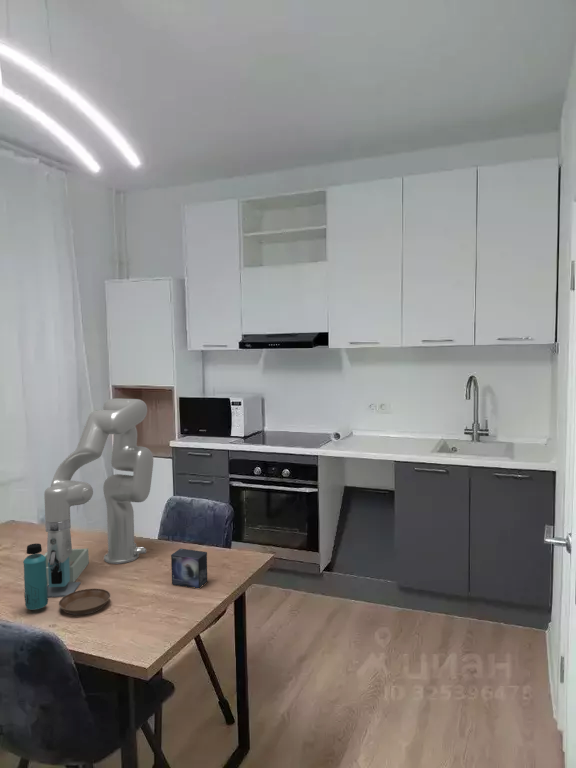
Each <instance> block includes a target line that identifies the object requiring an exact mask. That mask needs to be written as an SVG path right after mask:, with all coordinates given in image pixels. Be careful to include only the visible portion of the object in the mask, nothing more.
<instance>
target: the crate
mask: <svg viewBox="0 0 576 768" xmlns="http://www.w3.org/2000/svg"><path fill="white" fill-rule="evenodd" d="M43 555H44V556H45V557H46V573H47V579H48V580H47V581H48V582H47V583H48V584H47V585H49V574H48V558H47V551H46V552H45V553H44V554H43ZM89 563H90V559H89V548H72V553H71V555H70V556H69V567H70V581H69V582H77V579H78V578H79V577H80V575H81V574H82V573H83V571H84V570H85V568H86V567H87V566H88V565H89Z"/></svg>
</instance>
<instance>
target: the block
mask: <svg viewBox="0 0 576 768" xmlns="http://www.w3.org/2000/svg"><path fill="white" fill-rule="evenodd" d="M55 562H59V561H58V560H55ZM49 565H50V563H49V562H48V574H49V584H48V585H49V587H65V586H66V585H67V583H68V582H69V581H70V567H69V557H68V558H67V559H66V560H65V561H64V562H63V563H61V571H62V583H61V584H52V583H51V569H50V567H49ZM55 565H57V566H58V564H55Z"/></svg>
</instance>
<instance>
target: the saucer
mask: <svg viewBox="0 0 576 768" xmlns="http://www.w3.org/2000/svg"><path fill="white" fill-rule="evenodd" d="M110 598H111V593H110V591H108V590H107V589H104V588H86V589H80V590H76V591H75V592H73V593H70V594H68V595H66V596H65V597H61V599H60V600H59V601H58V606H59V608H61V610H62V611H64V612H65V613H67V614H69V615H73V616H83V615H84V616H85V615H89V614H92V613H95V612H97V611H99V610H101V609H103V607H104V606H105V605H106V604H107V603H108V602H109V600H110Z"/></svg>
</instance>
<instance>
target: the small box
mask: <svg viewBox="0 0 576 768" xmlns="http://www.w3.org/2000/svg"><path fill="white" fill-rule="evenodd" d="M170 557H171V558H170V560H171V562H170V563H171V564H170V565H171V585H172V584H173V586H177V585H180V586H179V587H183V586H187V587H186V588H189V587H195V588H200V587H201V586H202V585H203V586H205V585H206V584H207V583H208V552H207V551H201V550H195V549H186V548H179V549H177V550H176V551H174V552H173V553H172V554H170ZM206 582H207V583H206ZM205 583H206V584H205ZM204 584H205V585H204ZM203 586H202V587H203ZM202 587H201V588H202ZM195 588H194V589H195ZM201 588H200V589H201Z"/></svg>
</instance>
